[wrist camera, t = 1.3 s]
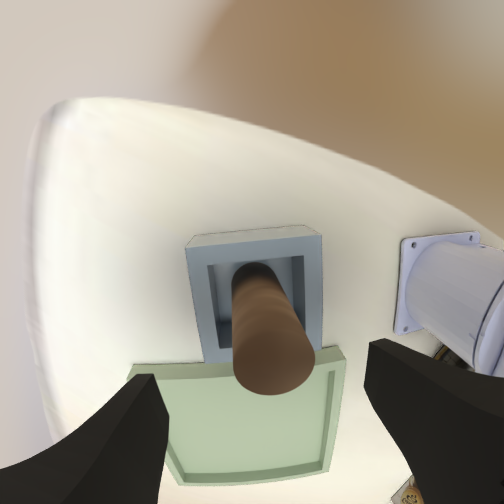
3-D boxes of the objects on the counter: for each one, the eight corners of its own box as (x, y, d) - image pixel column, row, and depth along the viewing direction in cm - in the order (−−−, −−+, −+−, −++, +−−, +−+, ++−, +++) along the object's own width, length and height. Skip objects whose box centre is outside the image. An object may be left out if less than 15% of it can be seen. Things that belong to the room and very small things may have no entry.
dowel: (276, 259, 18) (315, 324, 9) (278, 303, 19) (314, 388, 10) (228, 264, 18) (227, 334, 9) (233, 307, 19) (237, 399, 10)
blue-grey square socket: (303, 225, 18) (321, 234, 14) (306, 322, 20) (321, 350, 16) (194, 235, 18) (185, 247, 14) (208, 333, 19) (204, 363, 16)
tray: (337, 345, 20) (346, 359, 18) (324, 458, 24) (328, 471, 22) (133, 364, 20) (126, 379, 18) (180, 472, 23) (178, 485, 21)
